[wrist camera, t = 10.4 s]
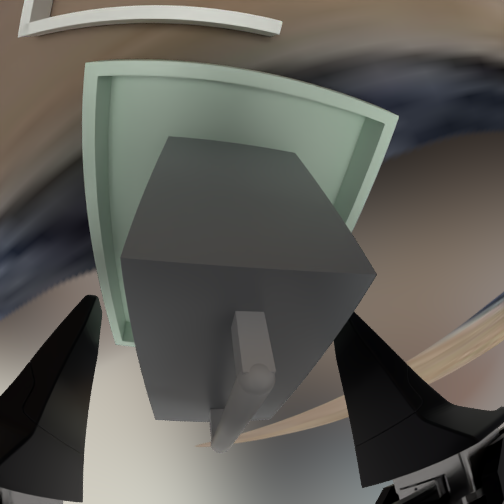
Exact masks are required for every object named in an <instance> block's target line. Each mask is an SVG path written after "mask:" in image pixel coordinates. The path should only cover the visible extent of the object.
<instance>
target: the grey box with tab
mask: <svg viewBox="0 0 504 504" xmlns="http://www.w3.org/2000/svg"><path fill="white" fill-rule="evenodd" d="M120 261H121V269H122V276H123V283H124V289H125V296H126V302H127V307H128V313H129V318H130V323H131V328H132V333H133V338H134V343H135V347H136V351H137V356H138V359H139V363H140V368H141V372H142V375H143V379H144V383H145V387H146V390H147V393H148V397H149V401H150V404H151V407H152V410H153V413H154V416H155V419H156V420H170V421H193V422H210V432H211V447H212V449H213V450H214V451H216V452H218V453H224V452H226V451H227V450H229V448H230V447H231V446H232V444H233V443H234V442H235V440H236V439H237V438H238V436H239V435H240V434H241V432H242V431H243V430H244V428H245V427H246V426H247V424H248V423H249V421H251V420H264V419H265V420H266V419H271V418H272V417H273V416H274V414H275V413H276V412H277V411H278V410H279V409H280V407H281V406H282V405H283V404H284V403H285V401H287V399H288V398H289V397H290V396H291V395H292V393H293V392H294V391H295V390H296V389H297V387H298V386H299V385H300V384H301V382H302V381H303V380H304V379H305V378H306V376H307V375H308V374H309V372H310V371H311V370H312V368H313V367H314V366H315V365H316V363H317V362H318V361H319V359H320V358H321V357H322V355H323V354H324V352H325V351H326V350H327V349H328V347H329V346H330V345H331V343H332V342H333V341H334V339H335V338H336V336H337V335H338V334H339V332H340V331H341V329H342V328H343V326H344V325H345V323H346V322H347V321H348V319H349V318H350V316H351V315H352V313H353V312H354V310H355V309H356V307H357V306H358V304H359V303H360V301H361V299H362V298H363V296H364V295H365V293H366V291H367V290H368V288H369V287H370V285H371V284H372V282H373V280H374V279H375V277H376V275H377V274H376V272H375V271H374V269H373V267H372V265H371V264H370V262H369V261H368V259H367V257H366V256H365V254H364V252H363V251H362V249H361V248H360V246H359V244H358V243H357V241H356V240H355V238H354V236H353V235H352V233H351V232H350V230H349V229H348V227H347V226H346V224H345V223H344V221H343V219H342V218H341V216H340V215H339V213H338V212H337V211H336V209H335V208H334V206H333V205H332V203H331V202H330V200H329V199H328V197H327V196H326V194H325V193H324V192H323V190H322V189H321V187H320V186H319V185H318V183H317V182H316V180H315V179H314V178H313V176H312V175H311V174H310V172H309V171H308V169H307V168H306V167H305V165H304V164H303V163H302V161H301V160H300V159H299V157H298V156H297V155H296V153H293V152H287V151H282V150H276V149H271V148H265V147H258V146H252V145H245V144H238V143H231V142H223V141H215V140H206V139H196V138H185V137H173V136H169V137H168V139H167V141H166V143H165V145H164V147H163V149H162V151H161V154H160V156H159V158H158V160H157V162H156V165H155V167H154V169H153V172H152V174H151V176H150V179H149V181H148V183H147V186H146V188H145V191H144V193H143V196H142V198H141V201H140V203H139V206H138V208H137V211H136V214H135V216H134V219H133V222H132V225H131V227H130V230H129V233H128V236H127V239H126V242H125V245H124V248H123V251H122V254H121V257H120Z"/></svg>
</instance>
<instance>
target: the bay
mask: <svg viewBox="0 0 504 504" xmlns="http://www.w3.org/2000/svg"><path fill="white" fill-rule="evenodd" d="M52 3H53V0H25V1H24V5H23V10H22V15H21V21H20V27H19V33H18V38H19V37H31V36H40V35H45V34H49V33H54V32H59V31H65V30H70V29H77V28H84V27H92V26H101V25H113V24H130V23H171V24H189V25H201V26H210V27H219V28H226V29H233V30H239V31H245V32H250V33H256V34H261V35H265V36H270V37H271V36H275V35H278V34H280V30H281V26H282V22H283V21H279V20H275V19H271V18H266V17H262V16H257V15H252V14H246V13H240V12H234V11H228V10H220V9H212V8H202V7H189V6H166V5H146V6H123V7H111V8H101V9H93V10H86V11H80V12H74V13H68V14H63V15H59V16H54V17H50V12H51V8H52Z"/></svg>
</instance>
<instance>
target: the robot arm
mask: <svg viewBox="0 0 504 504" xmlns="http://www.w3.org/2000/svg"><path fill="white" fill-rule="evenodd" d="M101 320H102V310H101V306H100V302H99V299H98V297H97V296H95V295H87V296H85V297H84V298H83V299H82V300H81V302H79V304H78V305H77V306H76V307H75V308H74V309H73V310H72V311H71V313H70V314H69V315H68V316H67V317H66V318H65V319H64V320H63V322H62V323H61V324H60V325H59V326H58V327H57V329H56V330H55V331H54V332H53V333H52V335H51V336H50V337H49V338H48V339H47V340H46V342H45V343H44V344H43V345H42V347H41V348H40V349H39V350H38V352H37V353H36V354H35V355H34V357H33V358H32V359H31V360H30V362H29V363H28V364H27V365H26V367H25V368H24V369H23V371H22V372H21V373H20V374H19V376H18V377H17V378H16V379H15V380H14V382H13V383H12V384H11V385H10V386H9V387H8V389H6V391H5V392H4V393H3V394H2V395H1V396H0V504H63V500H64V501H73V502H83V464H84V447H85V436H86V426H87V418H88V410H89V402H90V396H91V389H92V383H93V378H94V372H95V367H96V361H97V356H98V347H99V337H100V328H101ZM334 346H335V354H336V360H337V365H338V369H339V373H340V378H341V382H342V386H343V391H344V395H345V400H346V405H347V409H348V414H349V419H350V424H351V429H352V434H353V439H354V444H355V451H356V456H357V462H358V468H359V473H360V479H361V485H362V488H364V487H368V486H372V485H376V484H379V483H383V482H386V481H390V480H393V482H394V484H392V485H390V486H387V487H385V488H383V490H382V492H381V494H380V496H379V498H378V500H377V501H376V503H375V504H504V427H502V428H501V429H498V427H499V426H500V425H501V424H502V423H503V422H504V407H500V408H498V409H497V410H495V411H487V410H480V409H474V408H468V407H462V406H457V405H454V404H452V403H450V402H448V401H447V400H445V399H444V398H443V397H442V396H441V395H440V394H439V393H437V392H436V391H435V390H434V389H433V388H432V387H430V386H429V385H428V384H427V383H426V382H425V381H424V380H423V379H421V378H420V377H419V376H418V375H417V374H416V373H415V372H414V371H413V370H412V369H411V368H410V367H409V366H408V365H407V364H406V363H405V362H404V361H403V360H402V359H401V358H400V357H399V356H398V355H397V354H396V353H395V352H394V351H393V350H392V349H391V348H390V347H389V346H388V345H387V344H386V343H385V342H384V341H383V340H382V339H381V338H380V337H379V336H378V335H377V334H376V333H375V332H374V331H373V330H372V329H371V328H370V327H369V326H368V325H367V324H366V323H365V322H364V321H363V320H362V319H361V318H360V317H359V316H358V315H357V314H356V313H355V312H353V313H352V315H351V316H350V318H349V319H348V321H347V322H346V323H345V325H344V326H343V328H342V329H341V331H340V332H339V334H338V335H337V336H336V338H335V339H334Z"/></svg>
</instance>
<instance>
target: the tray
mask: <svg viewBox="0 0 504 504" xmlns="http://www.w3.org/2000/svg"><path fill="white" fill-rule="evenodd" d="M398 118H399V116H397V115H395V114H393V113H391V112H389V111H387V110H385V109H383V108H381V107H378V106H376V105H374V104H371V103H369V102H366V101H364V100H361V99H358V98H355V97H353V96H350V95H347V94H344V93H341V92H338V91H335V90H332V89H328V88H325V87H322V86H318V85H315V84H312V83H308V82H304V81H300V80H297V79H293V78H289V77H284V76H280V75H276V74H271V73H266V72H262V71H256V70H251V69H246V68H240V67H233V66H227V65H219V64H212V63H203V62H192V61H180V60H162V59H114V60H101V61H94V62H87V63H85V73H84V86H83V106H82V150H83V171H84V185H85V196H86V205H87V214H88V221H89V229H90V235H91V242H92V248H93V253H94V259H95V264H96V269H97V274H98V278H99V283H100V288H101V292H102V296H103V300H104V304H105V308H106V312H107V316H108V319H109V323H110V327H111V330H112V333H113V337H114V340H115V343H116V345H123V346H133V347H135V343H134V338H133V333H132V328H131V323H130V318H129V313H128V307H127V302H126V296H125V289H124V283H123V276H122V269H121V261H120V257H121V254H122V251H123V248H124V245H125V242H126V239H127V236H128V233H129V230H130V227H131V225H132V222H133V219H134V216H135V214H136V211H137V208H138V206H139V203H140V201H141V198H142V196H143V193H144V191H145V188H146V186H147V183H148V181H149V179H150V176H151V174H152V172H153V169H154V167H155V165H156V162H157V160H158V158H159V156H160V154H161V151H162V149H163V147H164V145H165V143H166V141H167V139H168V137H169V136H173V137H185V138H196V139H206V140H215V141H223V142H231V143H238V144H245V145H252V146H258V147H265V148H271V149H276V150H282V151H287V152H293V153H296V155H297V156H298V157H299V159H300V160H301V161H302V163H303V164H304V165H305V167H306V168H307V169H308V171H309V172H310V174H311V175H312V176H313V178H314V179H315V180H316V182H317V183H318V185H319V186H320V187H321V189H322V190H323V192H324V193H325V194H326V196H327V197H328V199H329V200H330V202H331V203H332V205H333V206H334V208H335V209H336V211H337V212H338V213H339V215H340V216H341V218H342V219H343V221H344V223H345V224H346V226H347V227H348V229H349V230H350V232H351V233H352V231H353V229H354V227H355V224H356V222H357V220H358V218H359V215H360V213H361V211H362V209H363V207H364V204H365V202H366V200H367V197H368V195H369V192H370V190H371V188H372V186H373V183H374V181H375V178H376V176H377V173H378V171H379V169H380V166H381V164H382V161H383V158H384V156H385V153H386V151H387V148H388V145H389V143H390V140H391V137H392V135H393V132H394V129H395V126H396V124H397V121H398Z"/></svg>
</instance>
